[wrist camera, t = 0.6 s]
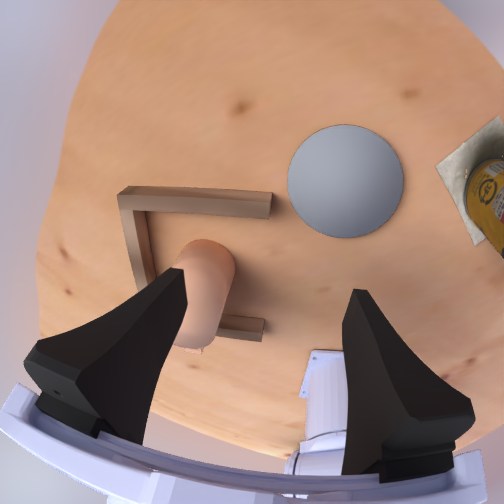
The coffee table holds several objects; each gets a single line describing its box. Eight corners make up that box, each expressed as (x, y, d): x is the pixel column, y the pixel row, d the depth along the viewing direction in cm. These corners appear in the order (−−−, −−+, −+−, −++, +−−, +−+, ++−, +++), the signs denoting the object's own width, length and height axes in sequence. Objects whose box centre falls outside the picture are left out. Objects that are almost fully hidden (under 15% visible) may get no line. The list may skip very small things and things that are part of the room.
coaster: (387, 239, 21) (389, 243, 20) (283, 228, 22) (283, 232, 21) (409, 135, 16) (412, 137, 16) (291, 118, 17) (291, 119, 17)
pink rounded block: (236, 307, 27) (219, 370, 21) (185, 301, 27) (160, 358, 21) (235, 242, 23) (212, 303, 17) (176, 236, 23) (139, 292, 18)
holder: (263, 327, 27) (261, 341, 26) (153, 311, 29) (147, 324, 27) (272, 192, 20) (269, 202, 19) (128, 186, 21) (116, 195, 20)
